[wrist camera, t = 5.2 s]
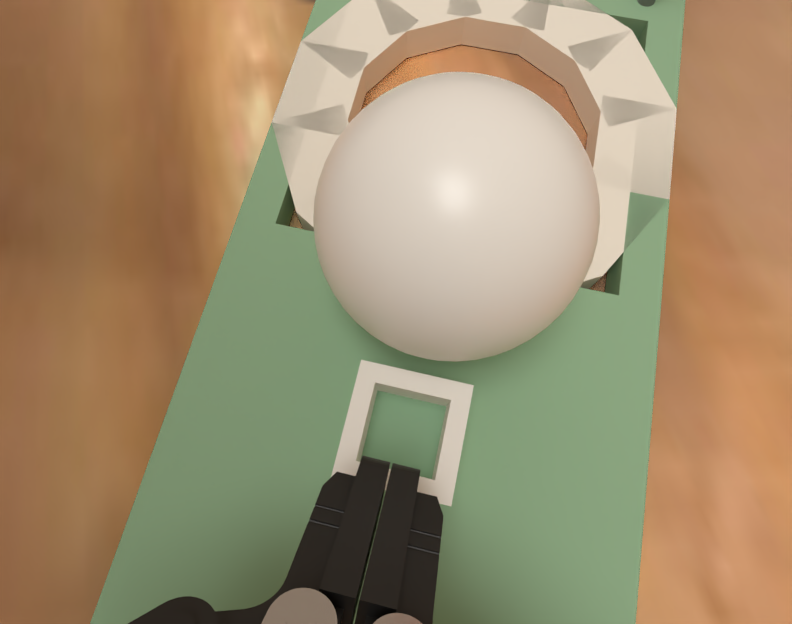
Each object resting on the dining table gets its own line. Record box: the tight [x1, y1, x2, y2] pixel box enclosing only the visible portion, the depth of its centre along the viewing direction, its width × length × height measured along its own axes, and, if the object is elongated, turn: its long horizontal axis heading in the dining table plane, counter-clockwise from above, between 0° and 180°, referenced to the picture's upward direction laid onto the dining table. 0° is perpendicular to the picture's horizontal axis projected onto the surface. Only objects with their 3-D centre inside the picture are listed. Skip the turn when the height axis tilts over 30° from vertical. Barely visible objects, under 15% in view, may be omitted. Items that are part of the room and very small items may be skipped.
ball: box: [313, 72, 600, 362], centre depth 15 cm, size 8×8×8 cm
